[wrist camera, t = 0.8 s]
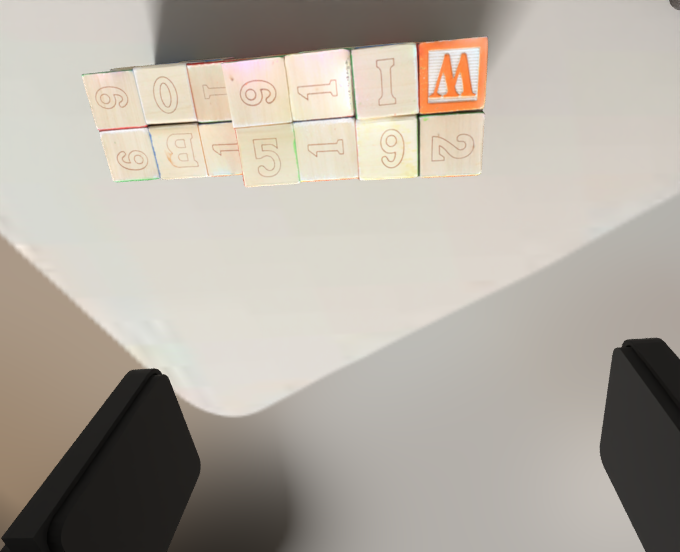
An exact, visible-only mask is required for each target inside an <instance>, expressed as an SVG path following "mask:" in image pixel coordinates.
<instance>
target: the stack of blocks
mask: <svg viewBox="0 0 680 552" xmlns="http://www.w3.org/2000/svg"><path fill="white" fill-rule="evenodd" d="M487 58H488V37H487V36H481V37H471V38H461V39H451V40H439V41H425V42H401V43H389V44H377V45H366V46H354V47H341V48H328V49H319V50H313V51H303V52H299V53H291V54H278V55H270V56H260V57H252V58H242V59H235V58H234V57H227V58H214V59H202V60H190V61H181V62H176V63H165V64H155V65H147V66H134V67H124V68H116V69H111V70H110V71H109V72H99V73H90V74H83V75H82V79H83V82H84V86H85V89H86V93H87V96H88V99H89V103H90V106H91V110H92V113H93V117H94V121H95V124H96V128H97V129H98V130H99V132H100V138H101V141H102V145H103V148H104V152H105V155H106V158H107V161H108V165H109V169H110V172H111V175H112V179H113V181H114V182H127V181H141V180H153V179H160V178H161V179H162V180H167V179H182V178H196V177H208V176H211V177H217V176H231V175H243V181H244V185H245V187H257V186H271V185H286V184H299V183H300V182H310V181H328V180H343V179H354V178H358V179H359V180H379V179H396V178H414V177H418V176H420V177H423V178H430V177H455V176H475V175H480V174H481V169H482V152H483V136H484V122H485V113H484V112H483V108H484V106H485V98H486V79H487Z"/></svg>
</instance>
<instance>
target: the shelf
mask: <svg viewBox="0 0 680 552" xmlns="http://www.w3.org/2000/svg"><path fill="white" fill-rule="evenodd" d="M669 1H670V4H671V5H672V6H673V7H674V8H675V9H677V10H680V0H669Z"/></svg>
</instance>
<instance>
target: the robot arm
mask: <svg viewBox="0 0 680 552" xmlns="http://www.w3.org/2000/svg"><path fill="white" fill-rule="evenodd" d="M600 456H601V460H602V463H603V466H604V468H605V470H606V472H607V474H608V476H609V478H610V480H611V482H612V484H613V486H614V488H615V490H616V492H617V494H618V496H619V498H620V500H621V502H622V505H623V507H624V509H625V511H626V513H627V515H628V517H629V519H630V521H631V523H632V525H633V527H634V529H635V531H636V533H637V535H638V537H639V539H640V541H641V543H642V545H643V547H644V549H645V551H646V552H680V359H679V358H678V357H677V356H676V354H675V353H674V352H673V351H672V350H671V349H670V348H669V347H668V346H667V344H666V343H665V342H664V341H663V340H662V339H660V338H646V339H629V340H626V341H624V343H623V344H622V347H621V348H615V349H614V351H613V355H612V362H611V369H610V377H609V384H608V391H607V399H606V405H605V413H604V420H603V427H602V434H601V441H600ZM199 474H200V459H199V456H198V453H197V450H196V448H195V445H194V443H193V440H192V438H191V435H190V432H189V430H188V427H187V424H186V422H185V420H184V417H183V414H182V411H181V409H180V406H179V404H178V401H177V398H176V396H175V393H174V391H173V388H172V385H171V383H170V380H169V378H168V377H167V376H166V375H164V374H163V375H162V373H161V371H159V370H158V369H155V368H154V369H140V370H139V369H138V370H131V371H129V372H128V373H127V374H126V375H125V376H124V378H123V379H122V380H121V382H120V383H119V384H118V386H117V387H116V388H115V390H114V391H113V392H112V393H111V395H110V396H109V398H108V399H107V400H106V401H105V403H104V404H103V405H102V407H101V408H100V409H99V411H98V412H97V413H96V415H95V416H94V417H93V418H92V420H91V421H90V422H89V424H88V425H87V426H86V428H85V429H84V430H83V431H82V433H81V434H80V436H79V437H78V438H77V439H76V441H75V442H74V443H73V445H72V446H71V447H70V449H69V450H68V451H67V452H66V454H65V455H64V456H63V458H62V459H61V460H60V462H59V463H58V464H57V466H56V467H55V468H54V469H53V471H52V472H51V473H50V475H49V476H48V477H47V479H46V480H45V481H44V483H43V484H42V486H41V487H40V488H39V489H38V490H37V492H36V493H35V494H34V496H33V497H32V498H31V500H30V501H29V502H28V504H27V505H26V506H25V508H24V509H23V510H22V512H21V513H20V514H19V515H18V517H17V518H16V519H15V521H14V522H13V523H12V525H11V526H10V527H9V528H8V530H7V531H6V533H5V534H4V535H3V536H2V538H1V539H2V540H3V542H4V543H5V546H4V547H3V548H2V550H1V551H0V552H167V550H168V547H169V545H170V543H171V540H172V538H173V536H174V533H175V531H176V528H177V526H178V524H179V522H180V519H181V517H182V514H183V512H184V509H185V507H186V505H187V503H188V500H189V498H190V496H191V493H192V491H193V489H194V486H195V484H196V482H197V479H198V477H199Z"/></svg>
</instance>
